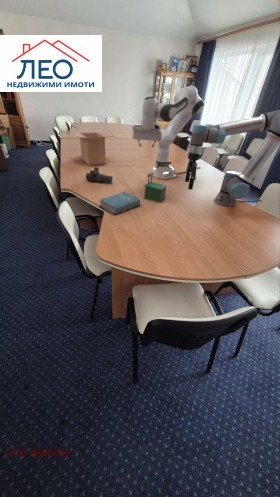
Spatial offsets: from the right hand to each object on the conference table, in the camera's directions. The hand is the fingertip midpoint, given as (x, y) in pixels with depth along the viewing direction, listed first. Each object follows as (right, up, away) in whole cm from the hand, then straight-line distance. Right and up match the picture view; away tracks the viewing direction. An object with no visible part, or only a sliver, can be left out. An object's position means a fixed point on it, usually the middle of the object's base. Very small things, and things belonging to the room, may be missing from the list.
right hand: (188, 185), depth 150 cm
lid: (-22, +3, +13) cm, 26 cm away
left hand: (-28, +31, +9) cm, 43 cm away
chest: (-22, -4, +19) cm, 29 cm away
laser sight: (-68, +15, +39) cm, 80 cm away
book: (-47, -13, +4) cm, 49 cm away
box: (-83, +51, +87) cm, 130 cm away
